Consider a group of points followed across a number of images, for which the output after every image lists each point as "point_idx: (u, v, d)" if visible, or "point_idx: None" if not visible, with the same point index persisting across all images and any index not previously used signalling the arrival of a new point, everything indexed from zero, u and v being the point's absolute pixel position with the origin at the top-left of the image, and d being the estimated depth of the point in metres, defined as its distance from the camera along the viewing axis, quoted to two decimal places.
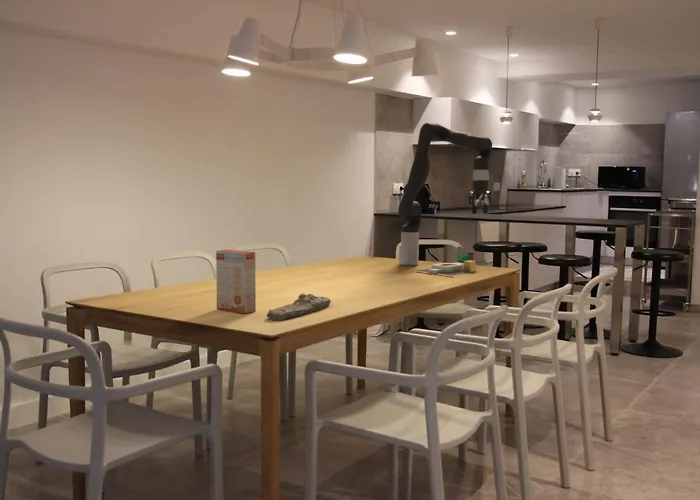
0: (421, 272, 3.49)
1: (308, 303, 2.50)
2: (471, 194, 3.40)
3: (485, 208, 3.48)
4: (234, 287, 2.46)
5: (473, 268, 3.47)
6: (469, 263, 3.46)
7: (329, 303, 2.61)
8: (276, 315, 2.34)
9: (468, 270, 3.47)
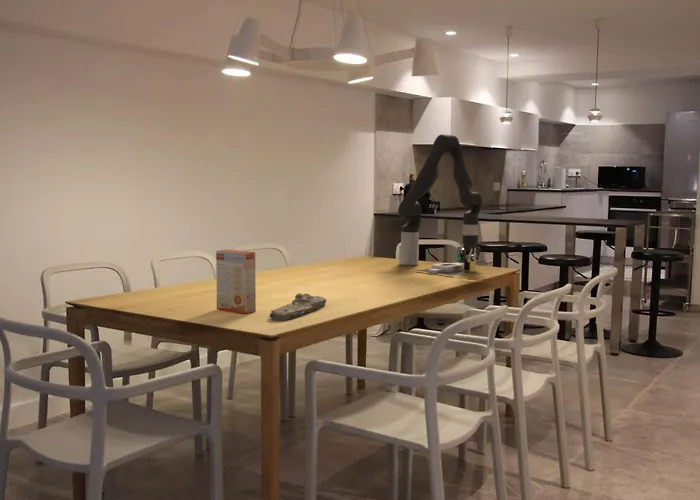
0: (421, 272, 3.49)
1: (307, 303, 2.50)
2: (461, 252, 3.43)
3: None
4: (234, 287, 2.46)
5: (473, 268, 3.47)
6: (469, 263, 3.46)
7: (325, 302, 2.62)
8: (280, 315, 2.34)
9: (468, 270, 3.47)
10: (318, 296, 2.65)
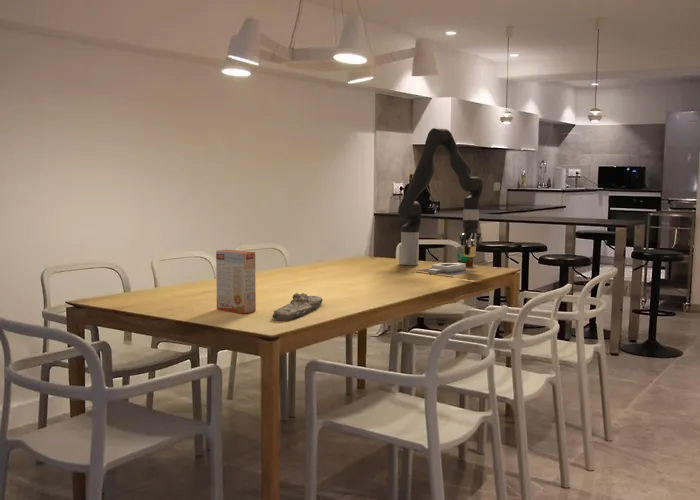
0: (421, 272, 3.49)
1: (306, 302, 2.51)
2: (461, 237, 3.43)
3: None
4: (234, 287, 2.46)
5: (473, 253, 3.47)
6: (469, 248, 3.45)
7: None
8: (284, 315, 2.34)
9: (468, 255, 3.46)
10: None
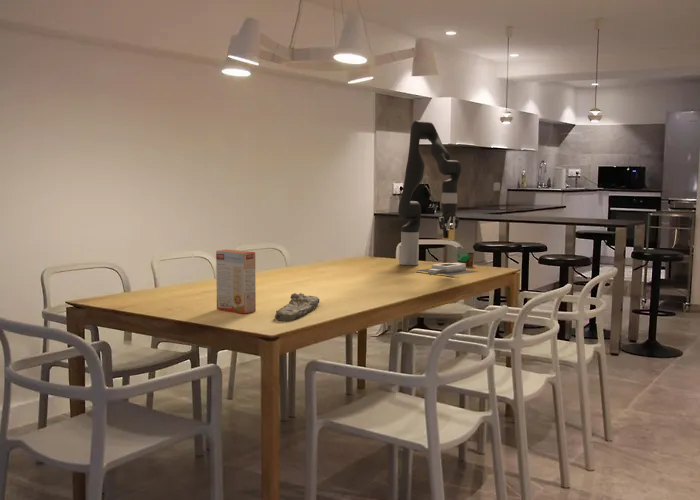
0: (421, 272, 3.49)
1: (306, 302, 2.51)
2: (440, 220, 3.43)
3: None
4: (234, 287, 2.46)
5: (452, 236, 3.47)
6: (448, 231, 3.46)
7: None
8: (287, 315, 2.34)
9: (447, 238, 3.46)
10: None
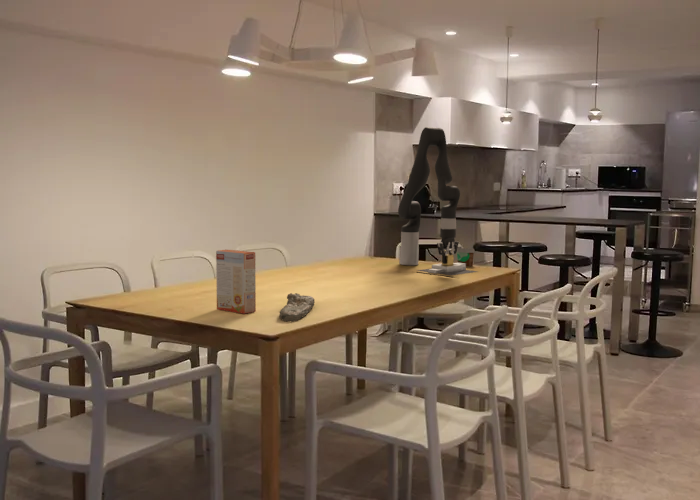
0: (421, 272, 3.49)
1: (304, 302, 2.52)
2: (439, 246, 3.44)
3: None
4: (234, 287, 2.46)
5: (451, 262, 3.48)
6: (447, 257, 3.47)
7: None
8: (292, 316, 2.34)
9: (446, 264, 3.48)
10: None
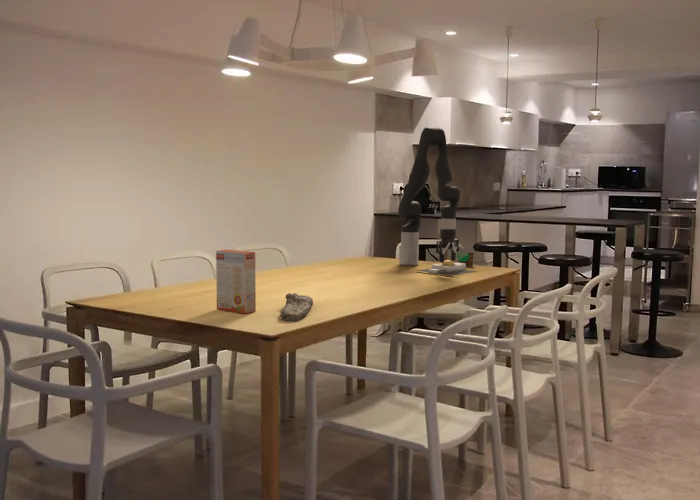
0: (421, 272, 3.49)
1: (304, 302, 2.52)
2: (438, 243, 3.44)
3: (453, 256, 3.52)
4: (234, 287, 2.46)
5: None
6: (448, 263, 3.47)
7: None
8: (294, 315, 2.34)
9: None
10: (301, 295, 2.67)
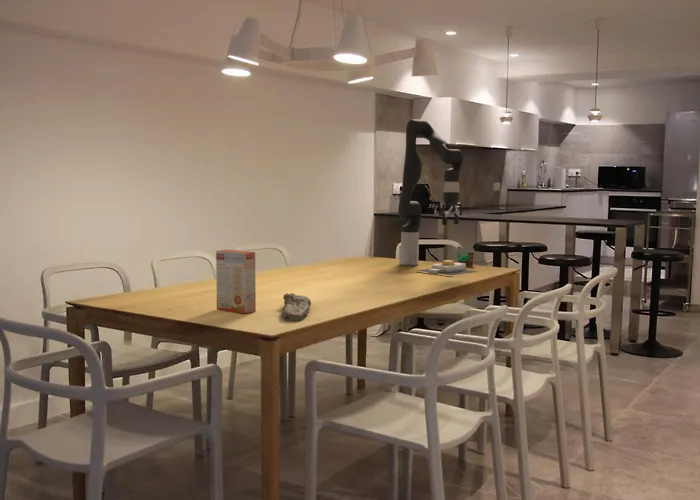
0: (421, 272, 3.49)
1: (303, 302, 2.52)
2: (441, 206, 3.45)
3: (456, 219, 3.53)
4: (234, 287, 2.46)
5: None
6: (448, 263, 3.47)
7: None
8: (297, 315, 2.34)
9: None
10: (297, 295, 2.67)
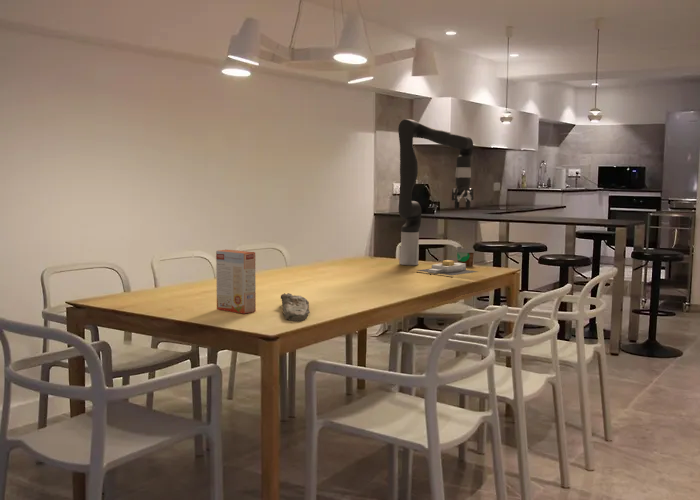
0: (421, 272, 3.49)
1: (301, 302, 2.52)
2: (454, 190, 3.58)
3: (467, 204, 3.66)
4: (234, 287, 2.46)
5: None
6: (448, 263, 3.47)
7: None
8: (300, 315, 2.34)
9: None
10: (293, 295, 2.67)
